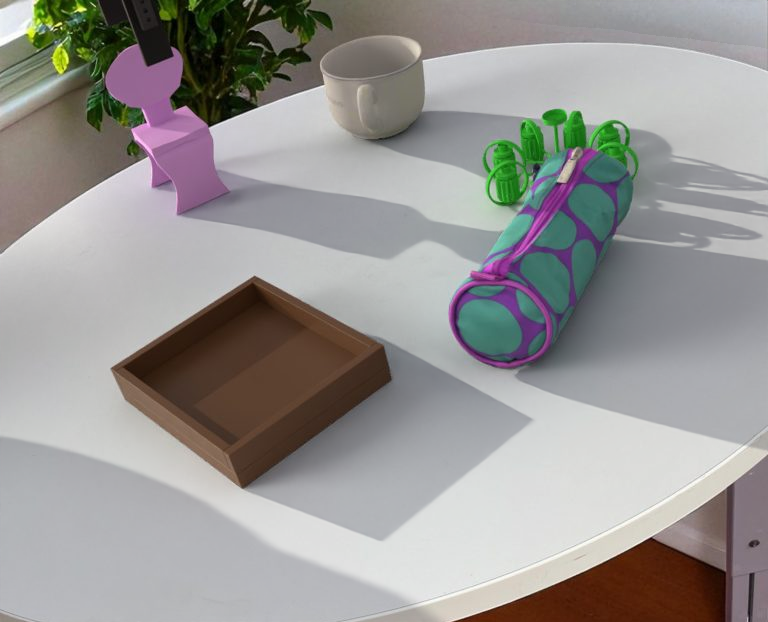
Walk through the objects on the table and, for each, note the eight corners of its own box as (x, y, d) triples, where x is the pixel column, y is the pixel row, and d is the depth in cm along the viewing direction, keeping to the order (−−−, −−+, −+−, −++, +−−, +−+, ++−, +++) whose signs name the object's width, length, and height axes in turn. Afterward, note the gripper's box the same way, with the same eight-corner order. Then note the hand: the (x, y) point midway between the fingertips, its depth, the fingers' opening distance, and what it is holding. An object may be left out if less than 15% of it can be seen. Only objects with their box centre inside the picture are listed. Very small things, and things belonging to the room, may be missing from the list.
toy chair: (169, 221, 112) (116, 82, 101) (142, 190, 118) (89, 56, 107) (240, 189, 114) (195, 50, 103) (209, 160, 120) (164, 26, 109)
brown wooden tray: (125, 399, 92) (109, 368, 89) (265, 307, 97) (254, 275, 95) (242, 489, 81) (228, 456, 79) (392, 379, 87) (384, 345, 84)
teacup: (352, 104, 122) (336, 34, 117) (443, 98, 119) (432, 26, 113) (315, 168, 114) (296, 96, 108) (412, 164, 110) (398, 89, 105)
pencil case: (540, 227, 98) (530, 128, 91) (636, 235, 94) (633, 133, 87) (452, 371, 86) (433, 270, 79) (557, 387, 82) (546, 283, 75)
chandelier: (672, 187, 98) (672, 116, 93) (525, 246, 96) (517, 177, 91) (590, 127, 108) (586, 60, 103) (457, 179, 106) (446, 113, 101)
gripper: (130, -208, 81) (216, 63, 96) (54, -242, 99) (137, -6, 114) (37, -176, 80) (140, 95, 95) (-23, -215, 97) (72, 19, 112)
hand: (139, 40), depth 104 cm, fingers open, 13 cm apart
